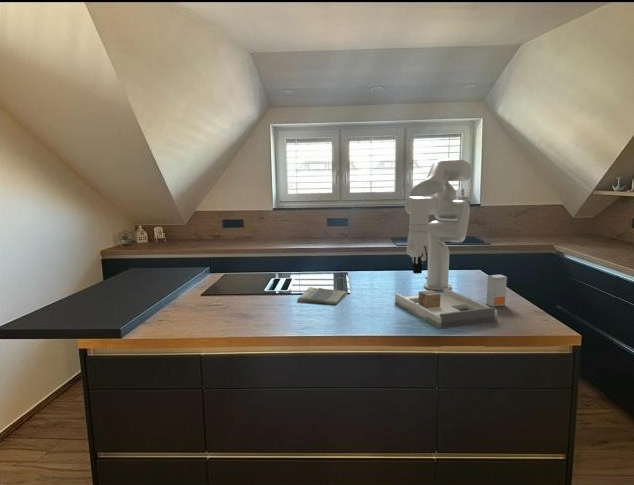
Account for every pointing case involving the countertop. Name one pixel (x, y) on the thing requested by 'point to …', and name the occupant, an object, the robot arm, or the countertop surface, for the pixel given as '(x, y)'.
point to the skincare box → (496, 290)
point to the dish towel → (322, 296)
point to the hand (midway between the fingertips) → (417, 273)
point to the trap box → (449, 310)
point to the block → (429, 299)
